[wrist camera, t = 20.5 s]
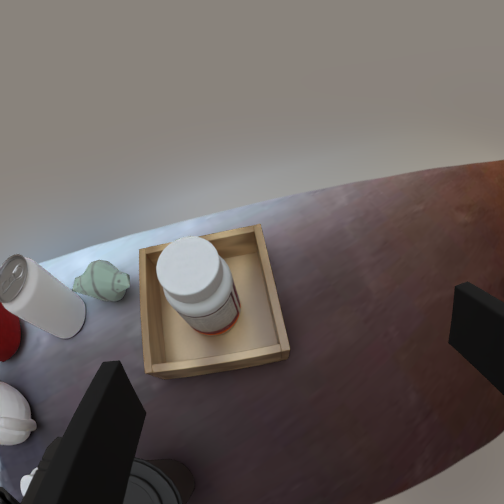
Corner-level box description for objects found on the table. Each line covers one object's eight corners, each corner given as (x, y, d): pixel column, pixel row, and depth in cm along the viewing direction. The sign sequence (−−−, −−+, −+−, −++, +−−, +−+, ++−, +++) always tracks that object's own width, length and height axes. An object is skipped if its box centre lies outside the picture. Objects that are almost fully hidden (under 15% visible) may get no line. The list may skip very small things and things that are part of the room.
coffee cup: (219, 504, 23) (196, 538, 14) (152, 516, 22) (110, 544, 13) (190, 439, 27) (155, 449, 18) (126, 454, 26) (75, 463, 17)
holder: (262, 248, 37) (260, 223, 33) (288, 359, 31) (290, 349, 26) (154, 270, 37) (138, 249, 32) (163, 379, 30) (144, 373, 26)
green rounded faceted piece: (90, 310, 35) (61, 289, 29) (94, 281, 37) (67, 256, 31) (145, 307, 35) (120, 285, 29) (147, 276, 37) (125, 249, 31)
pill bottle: (195, 280, 35) (164, 225, 25) (247, 289, 34) (234, 235, 24) (179, 330, 32) (138, 291, 22) (234, 343, 31) (213, 308, 21)
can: (94, 319, 34) (36, 279, 24) (62, 349, 32) (-2, 318, 22) (75, 285, 37) (22, 239, 26) (45, 313, 35) (-12, 275, 25)
